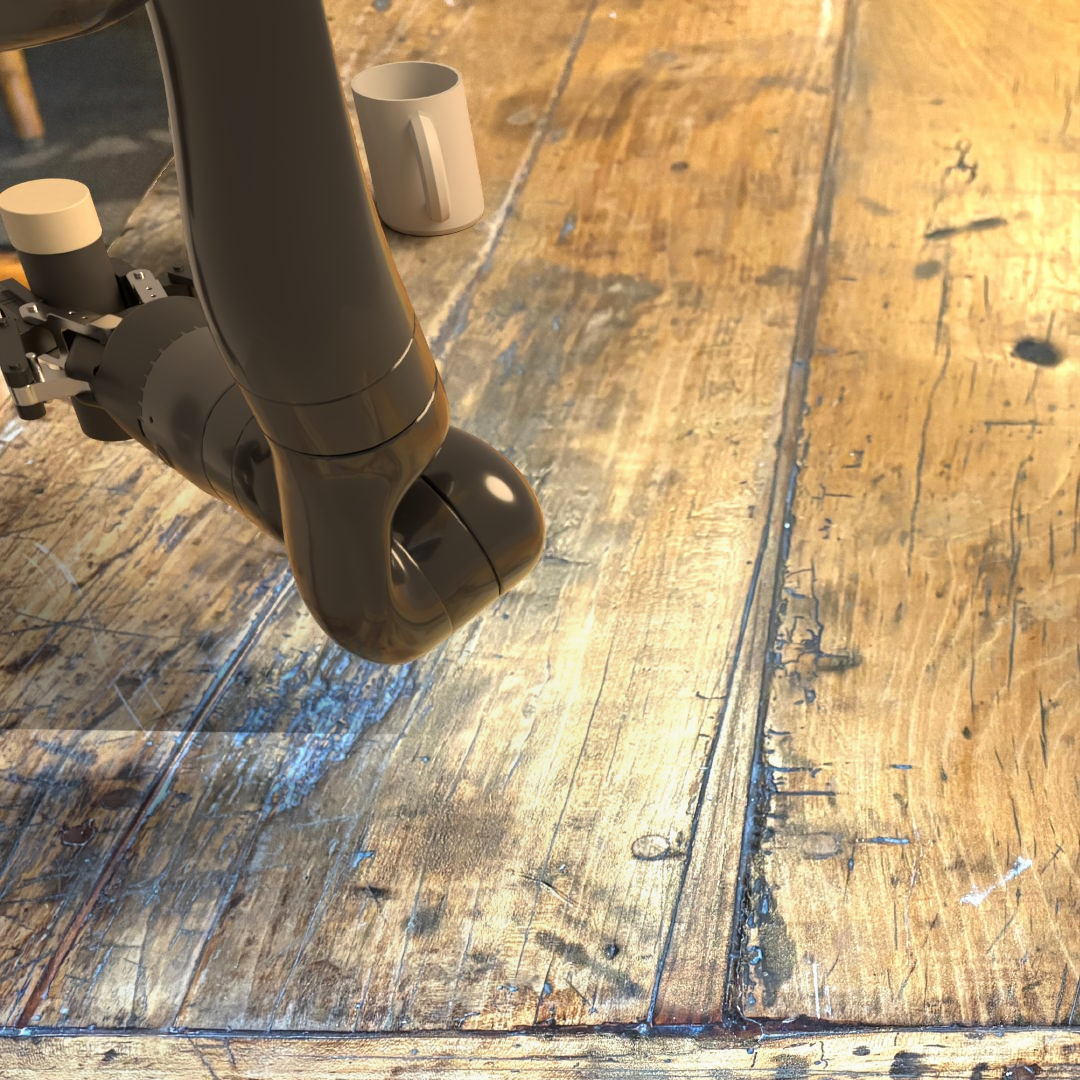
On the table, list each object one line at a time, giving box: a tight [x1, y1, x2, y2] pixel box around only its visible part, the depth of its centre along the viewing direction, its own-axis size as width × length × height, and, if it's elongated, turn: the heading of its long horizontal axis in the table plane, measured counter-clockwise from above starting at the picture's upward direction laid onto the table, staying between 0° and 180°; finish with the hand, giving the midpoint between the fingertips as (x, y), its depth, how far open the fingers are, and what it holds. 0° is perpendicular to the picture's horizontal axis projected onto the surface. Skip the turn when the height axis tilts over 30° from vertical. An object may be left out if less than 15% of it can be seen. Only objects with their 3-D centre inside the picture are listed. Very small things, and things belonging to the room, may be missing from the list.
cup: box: [350, 60, 486, 237], centre depth 122 cm, size 7×10×9 cm
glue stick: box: [0, 178, 135, 443], centre depth 92 cm, size 4×4×12 cm
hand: (54, 285), depth 93 cm, fingers closed on glue stick, 4 cm apart
